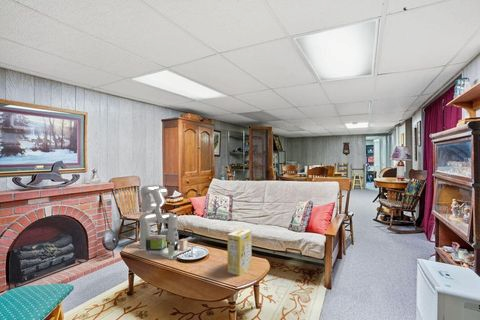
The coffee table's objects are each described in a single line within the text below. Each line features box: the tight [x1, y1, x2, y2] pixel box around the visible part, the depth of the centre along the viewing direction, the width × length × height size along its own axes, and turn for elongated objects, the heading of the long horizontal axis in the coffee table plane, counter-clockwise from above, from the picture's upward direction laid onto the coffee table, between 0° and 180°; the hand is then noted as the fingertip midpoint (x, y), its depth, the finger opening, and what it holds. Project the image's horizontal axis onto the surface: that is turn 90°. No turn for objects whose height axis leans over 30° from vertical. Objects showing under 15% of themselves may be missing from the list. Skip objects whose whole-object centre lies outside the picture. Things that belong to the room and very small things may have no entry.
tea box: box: [145, 234, 167, 256], centre depth 208 cm, size 15×10×15 cm
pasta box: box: [226, 227, 253, 277], centre depth 176 cm, size 18×10×28 cm, turn 149°
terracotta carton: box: [178, 238, 188, 251], centre depth 209 cm, size 5×5×9 cm
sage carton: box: [168, 242, 177, 256], centre depth 198 cm, size 5×5×9 cm
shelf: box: [160, 245, 192, 261], centre depth 204 cm, size 17×20×4 cm
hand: (172, 248), depth 198 cm, fingers open, 9 cm apart
